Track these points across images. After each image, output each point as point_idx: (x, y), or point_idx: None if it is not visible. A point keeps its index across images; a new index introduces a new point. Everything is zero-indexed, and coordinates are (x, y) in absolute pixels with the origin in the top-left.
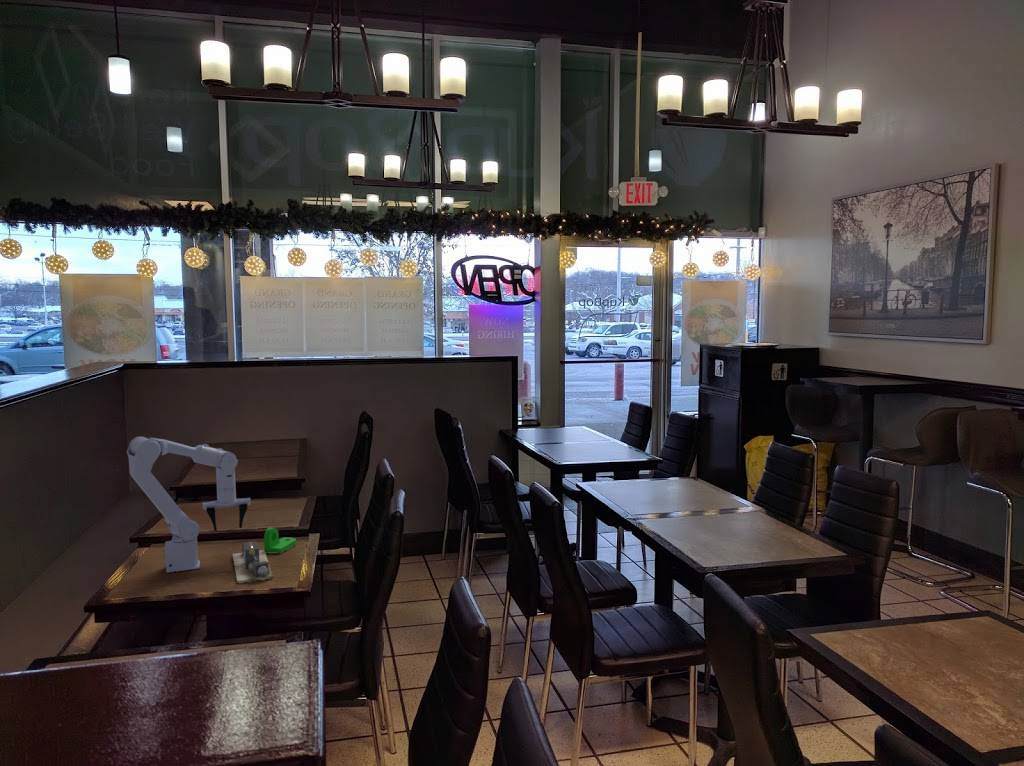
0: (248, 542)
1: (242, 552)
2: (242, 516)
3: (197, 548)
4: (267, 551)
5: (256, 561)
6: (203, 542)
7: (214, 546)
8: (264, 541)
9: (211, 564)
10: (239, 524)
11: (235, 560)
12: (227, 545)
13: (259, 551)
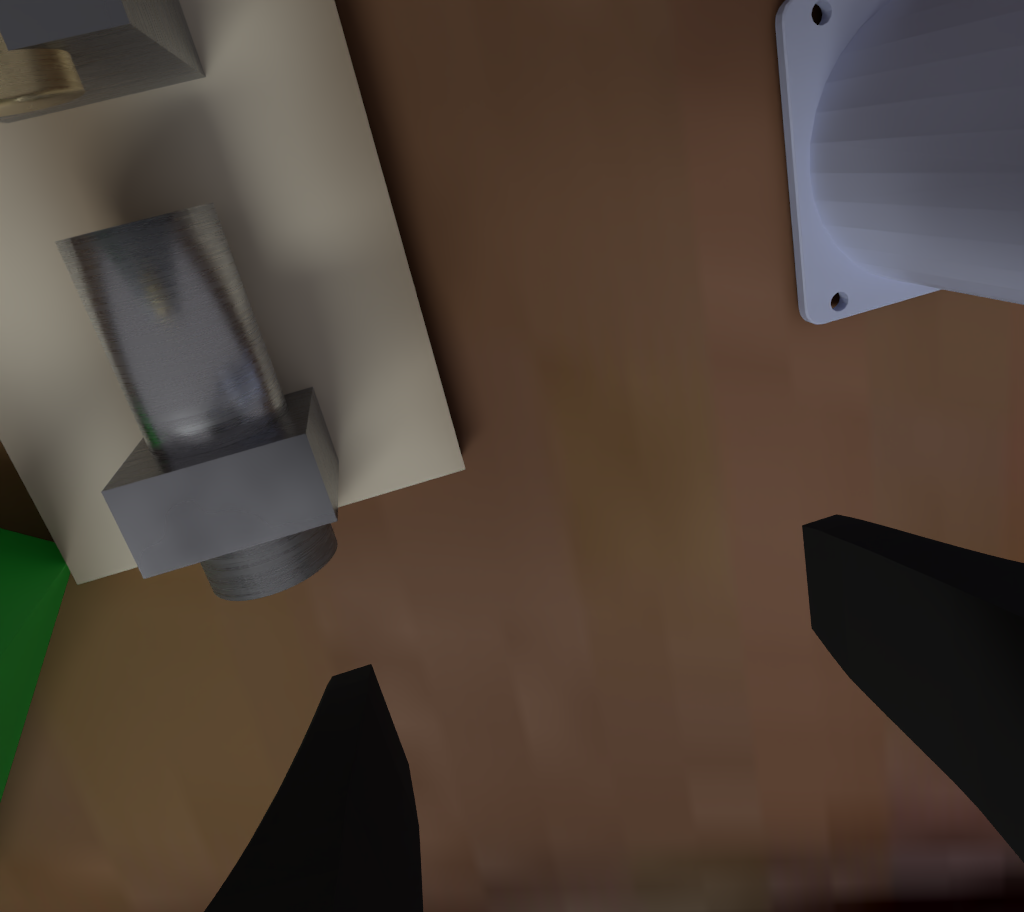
0: (14, 60)
1: (325, 432)
2: (258, 878)
3: (953, 163)
4: (23, 547)
5: None
6: (806, 878)
7: (703, 781)
8: (11, 631)
9: (653, 179)
10: (376, 724)
11: (357, 173)
12: (588, 806)
13: None
